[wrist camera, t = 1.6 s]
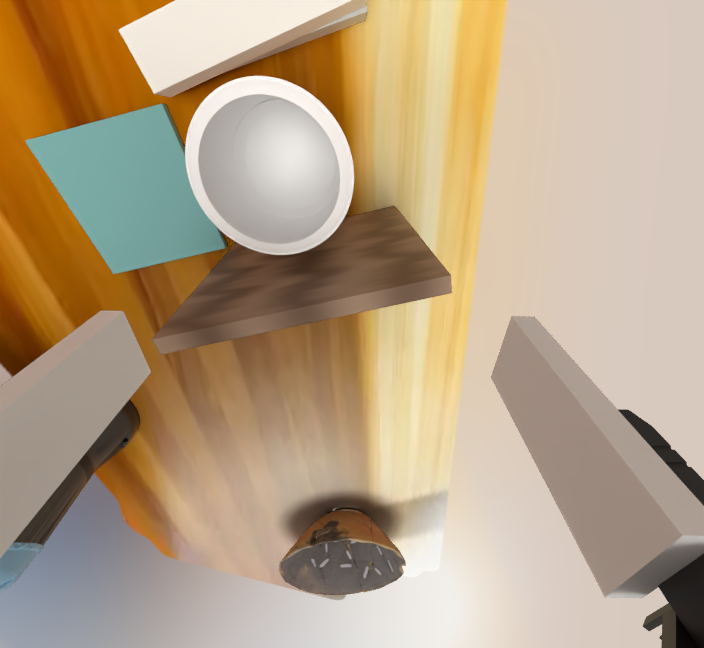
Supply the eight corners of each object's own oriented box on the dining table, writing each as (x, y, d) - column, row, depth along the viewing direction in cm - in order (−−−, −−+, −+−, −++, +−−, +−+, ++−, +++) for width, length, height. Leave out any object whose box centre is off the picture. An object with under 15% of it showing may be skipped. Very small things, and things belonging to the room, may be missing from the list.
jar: (357, 116, 31) (373, 106, 18) (334, 220, 36) (335, 269, 23) (246, 82, 29) (179, 46, 16) (239, 197, 34) (184, 237, 22)
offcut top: (170, 97, 27) (154, 93, 25) (140, 39, 25) (118, 29, 23) (366, 6, 25) (369, -9, 22) (349, -66, 23) (351, -90, 20)
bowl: (267, 501, 65) (257, 556, 57) (382, 476, 63) (390, 530, 54) (309, 553, 78) (306, 605, 70) (406, 534, 76) (415, 585, 67)
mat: (117, 271, 38) (113, 274, 37) (31, 140, 31) (24, 140, 30) (227, 245, 37) (225, 248, 36) (165, 104, 30) (161, 103, 29)
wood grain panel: (257, 296, 41) (203, 416, 24) (235, 243, 37) (151, 339, 20) (402, 264, 39) (455, 367, 22) (394, 205, 36) (450, 275, 19)
